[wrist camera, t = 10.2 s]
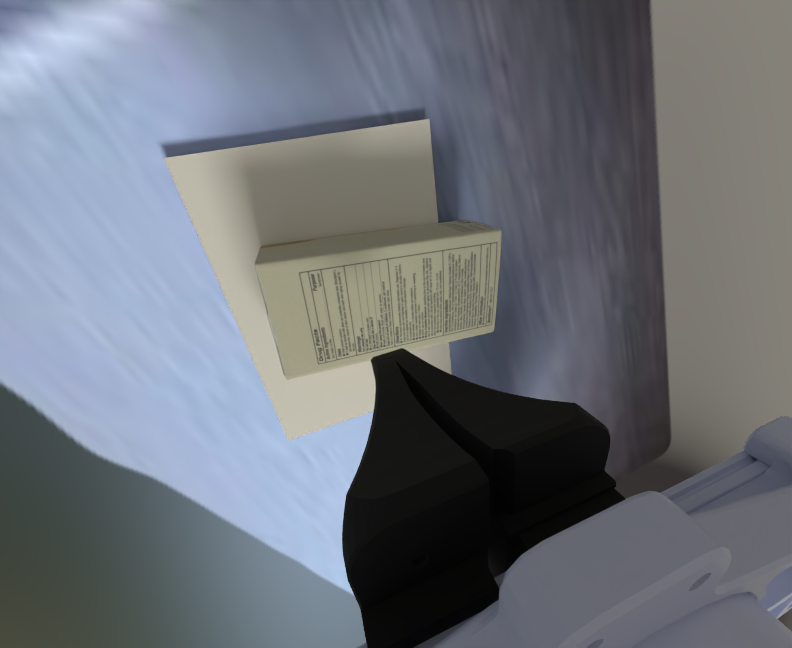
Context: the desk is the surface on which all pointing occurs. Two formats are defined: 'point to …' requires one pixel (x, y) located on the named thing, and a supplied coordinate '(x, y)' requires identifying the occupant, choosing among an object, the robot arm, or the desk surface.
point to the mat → (306, 237)
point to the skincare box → (378, 292)
